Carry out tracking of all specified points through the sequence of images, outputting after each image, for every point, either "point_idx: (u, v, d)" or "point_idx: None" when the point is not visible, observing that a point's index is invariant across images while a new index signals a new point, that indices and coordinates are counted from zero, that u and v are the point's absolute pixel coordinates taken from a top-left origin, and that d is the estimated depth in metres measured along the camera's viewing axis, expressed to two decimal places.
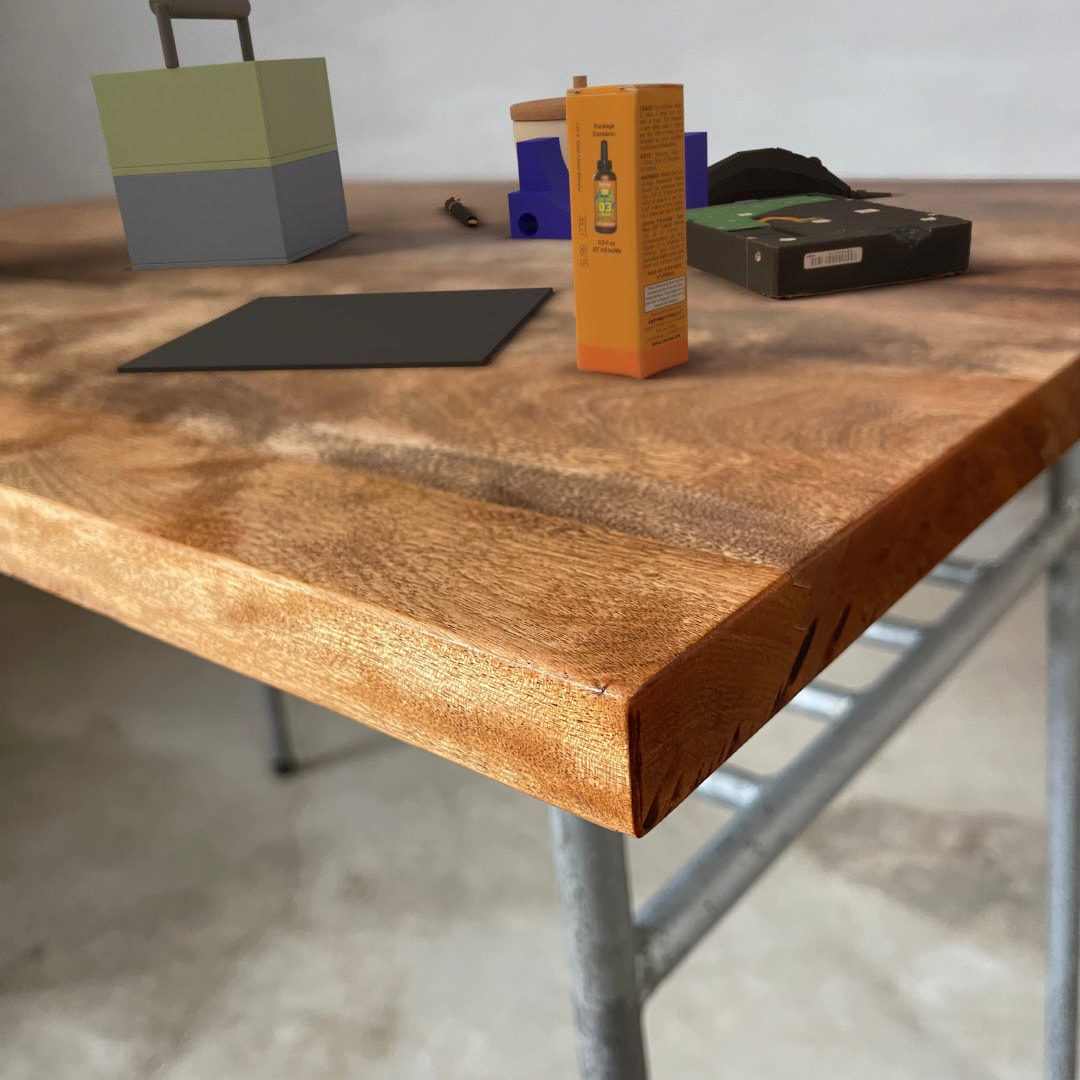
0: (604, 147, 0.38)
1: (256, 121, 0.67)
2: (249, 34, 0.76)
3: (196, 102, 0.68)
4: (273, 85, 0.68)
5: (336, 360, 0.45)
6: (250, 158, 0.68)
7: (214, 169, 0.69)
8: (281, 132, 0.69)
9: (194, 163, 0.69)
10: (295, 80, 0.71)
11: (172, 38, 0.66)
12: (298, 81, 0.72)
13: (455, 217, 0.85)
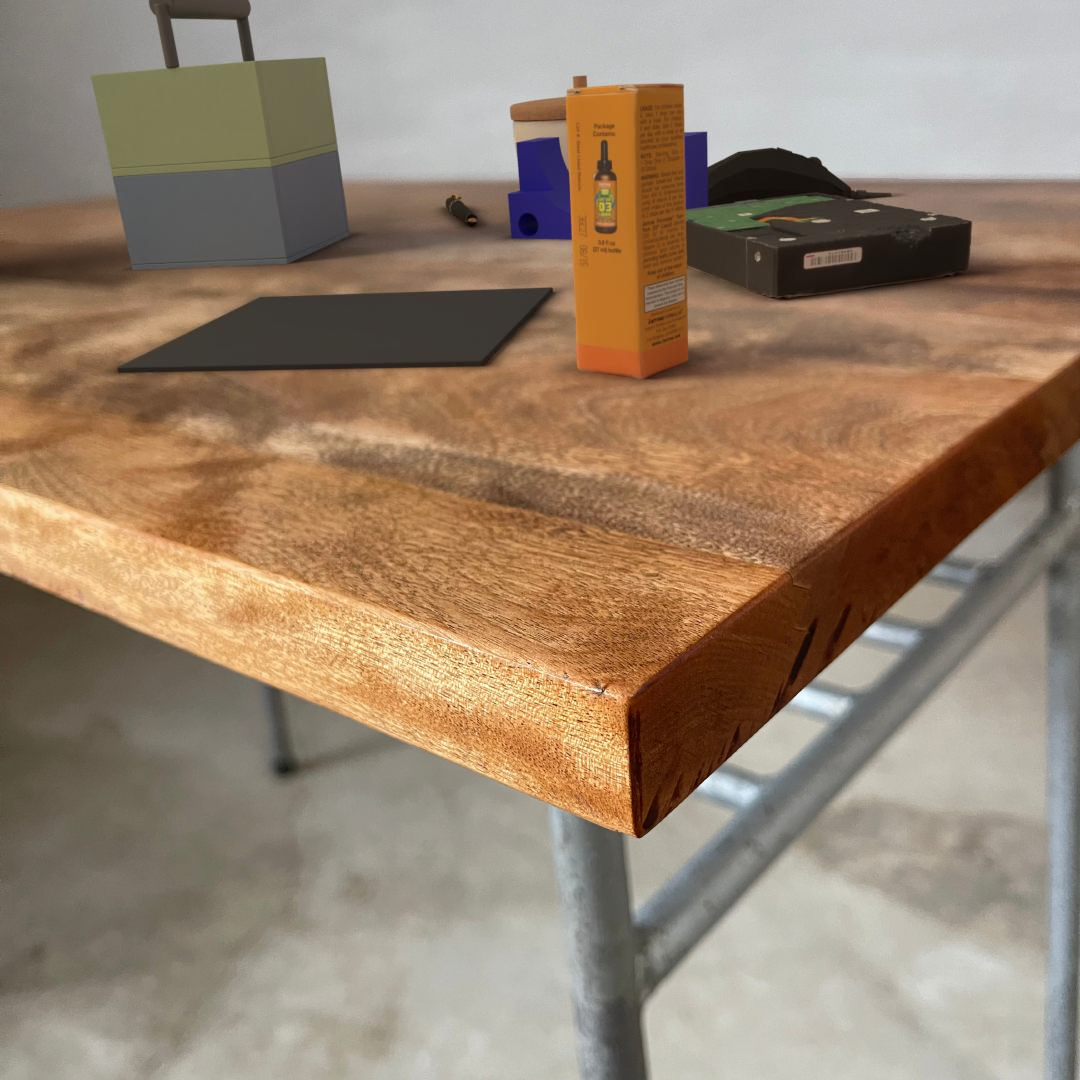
0: (604, 147, 0.38)
1: (256, 121, 0.67)
2: (249, 34, 0.76)
3: (196, 102, 0.68)
4: (273, 85, 0.68)
5: (336, 360, 0.45)
6: (250, 158, 0.68)
7: (214, 169, 0.69)
8: (281, 132, 0.69)
9: (194, 163, 0.69)
10: (295, 80, 0.71)
11: (172, 38, 0.66)
12: (298, 81, 0.72)
13: (455, 215, 0.85)
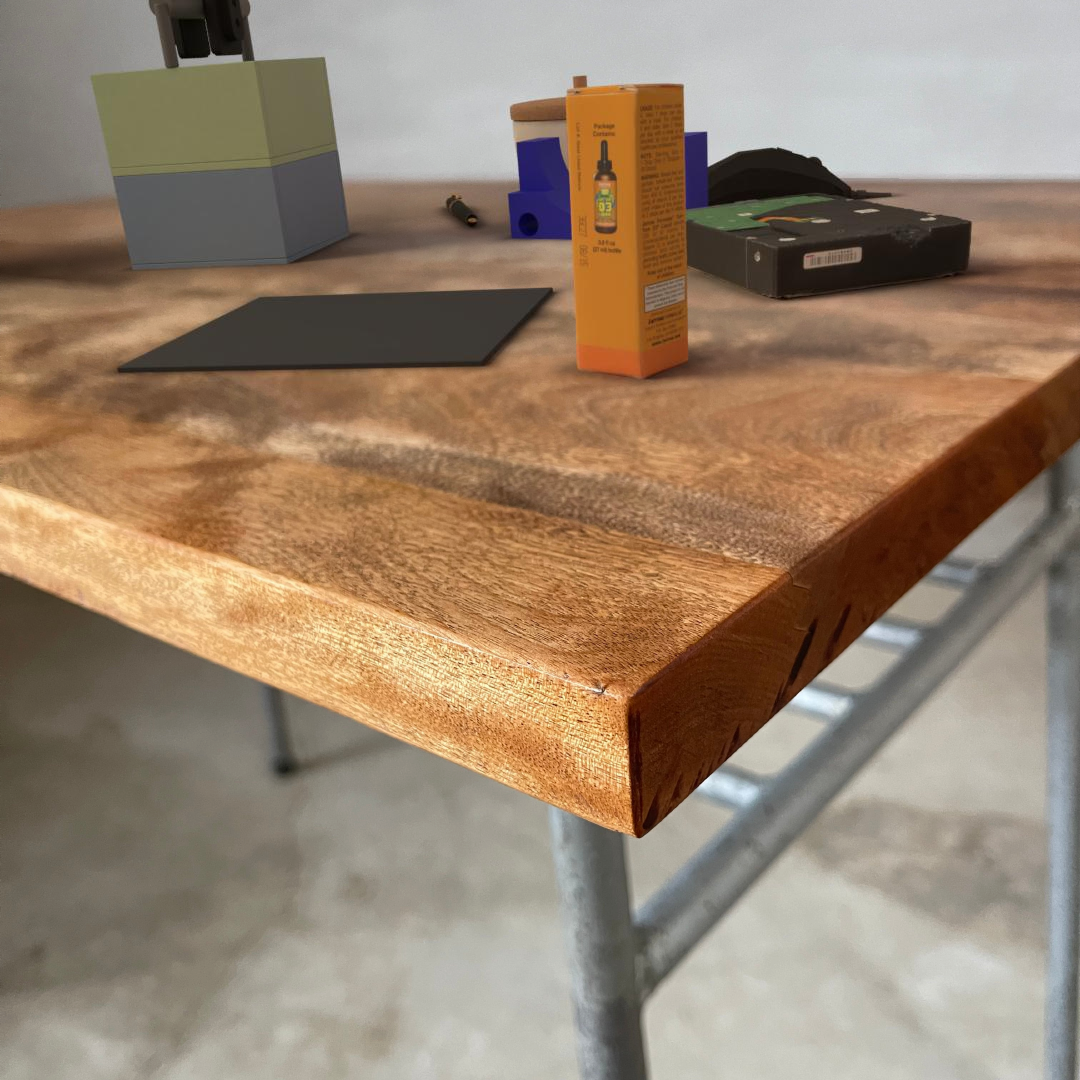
0: (604, 147, 0.38)
1: (255, 121, 0.67)
2: (249, 34, 0.76)
3: (196, 102, 0.68)
4: (273, 85, 0.68)
5: (336, 360, 0.45)
6: (250, 158, 0.68)
7: (214, 169, 0.69)
8: (281, 132, 0.69)
9: (193, 163, 0.69)
10: (295, 80, 0.71)
11: (172, 38, 0.66)
12: (298, 81, 0.72)
13: None
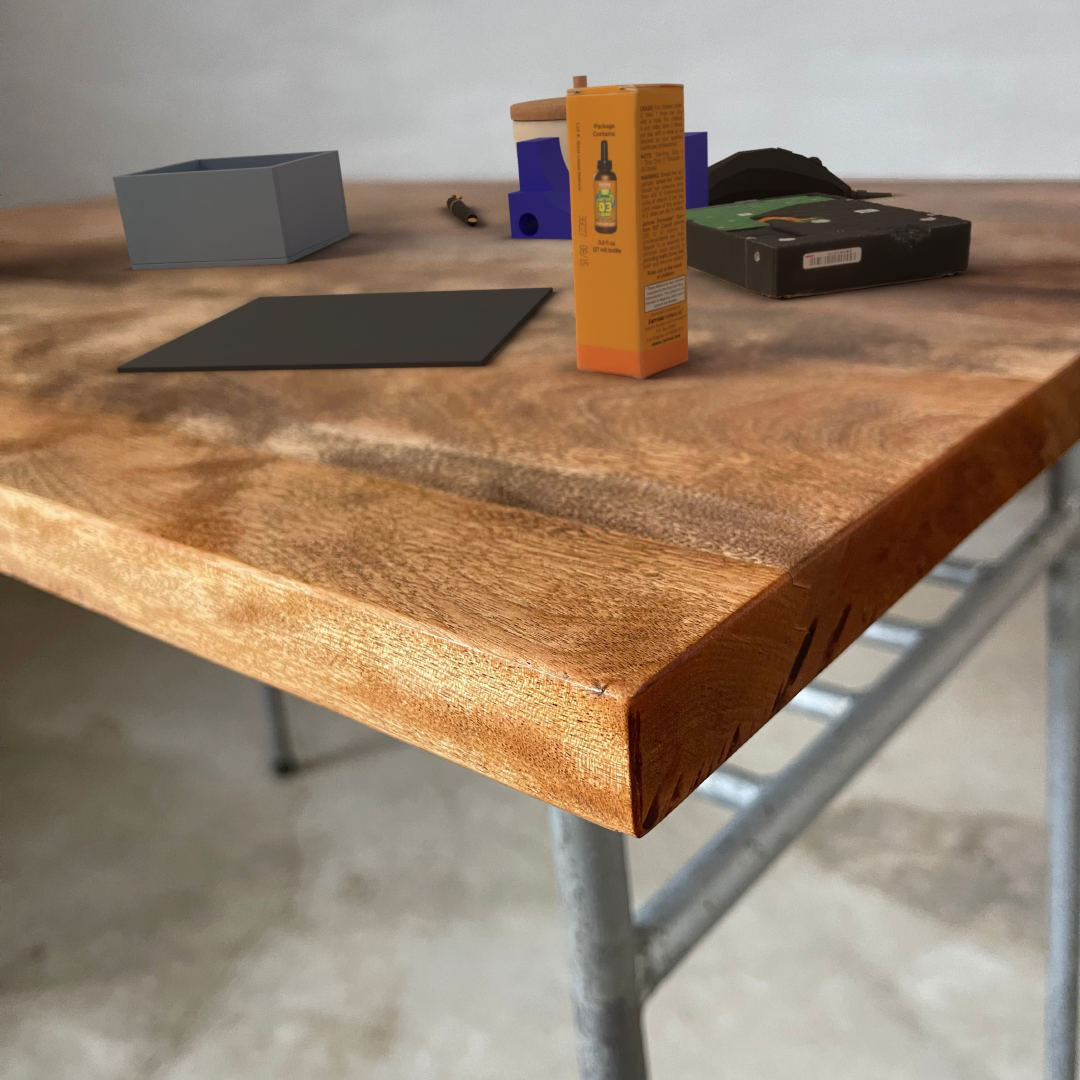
0: (604, 147, 0.38)
1: None
2: None
3: None
4: None
5: (336, 360, 0.45)
6: None
7: None
8: None
9: None
10: None
11: None
12: None
13: (456, 215, 0.85)
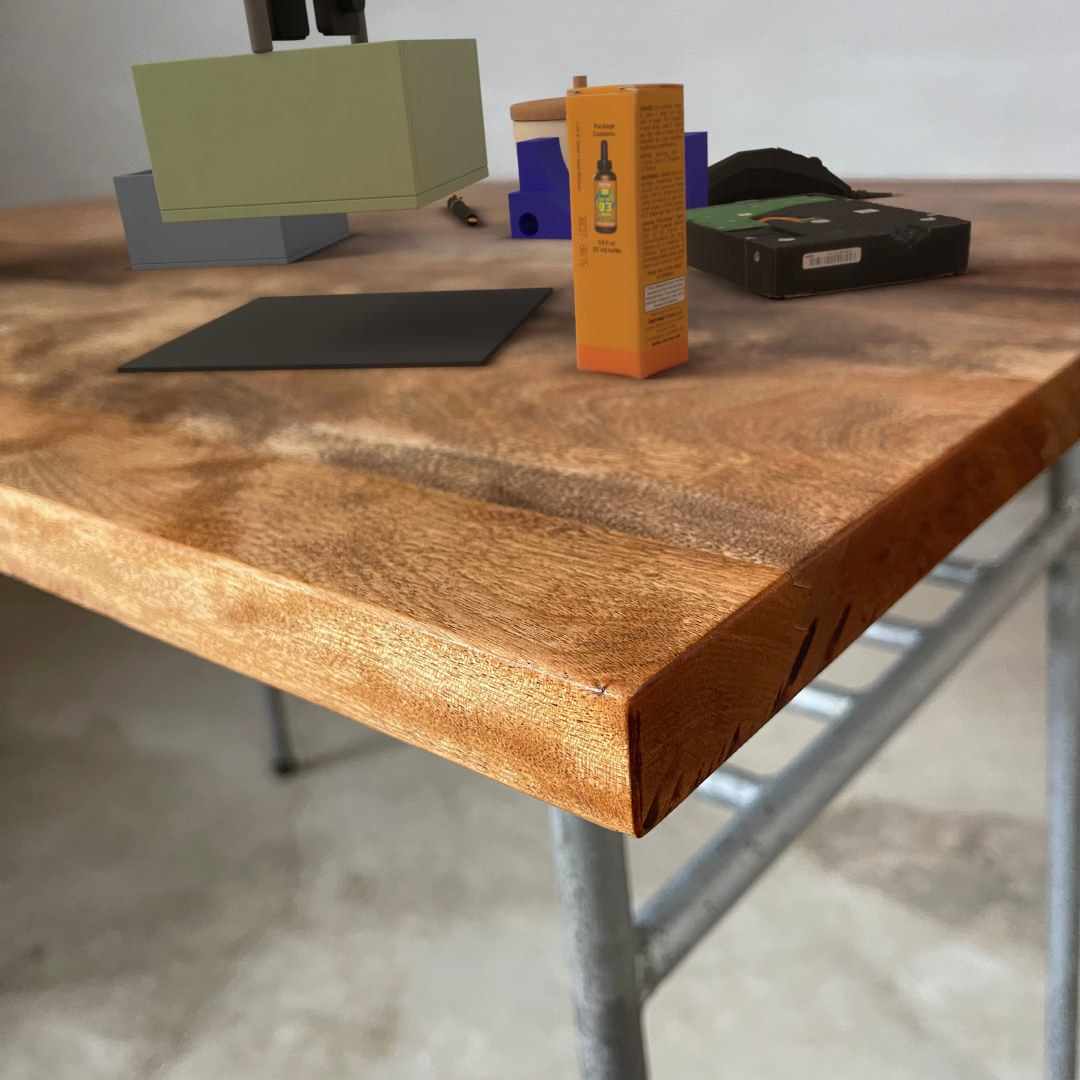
0: (604, 147, 0.38)
1: (395, 137, 0.42)
2: None
3: (300, 107, 0.42)
4: (420, 79, 0.43)
5: (336, 360, 0.45)
6: (383, 195, 0.43)
7: (325, 212, 0.44)
8: (429, 153, 0.44)
9: (293, 202, 0.44)
10: (444, 72, 0.46)
11: (263, 4, 0.41)
12: (448, 74, 0.47)
13: (456, 215, 0.85)
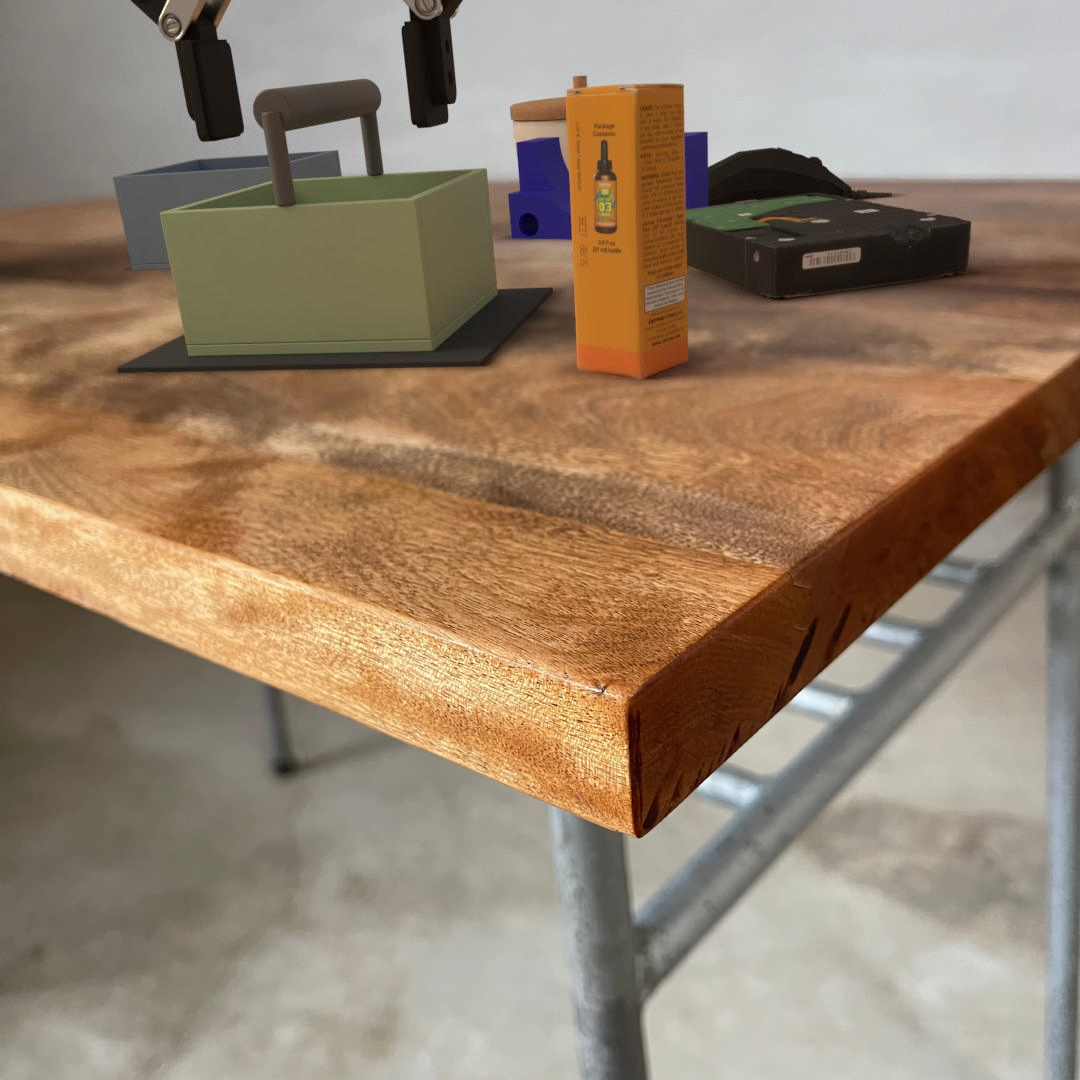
0: (604, 147, 0.38)
1: (412, 286, 0.44)
2: (377, 135, 0.53)
3: (321, 256, 0.45)
4: (435, 228, 0.45)
5: (336, 360, 0.45)
6: (400, 338, 0.45)
7: (344, 351, 0.46)
8: (442, 295, 0.47)
9: (313, 341, 0.46)
10: (457, 212, 0.48)
11: (287, 163, 0.44)
12: (460, 213, 0.49)
13: None
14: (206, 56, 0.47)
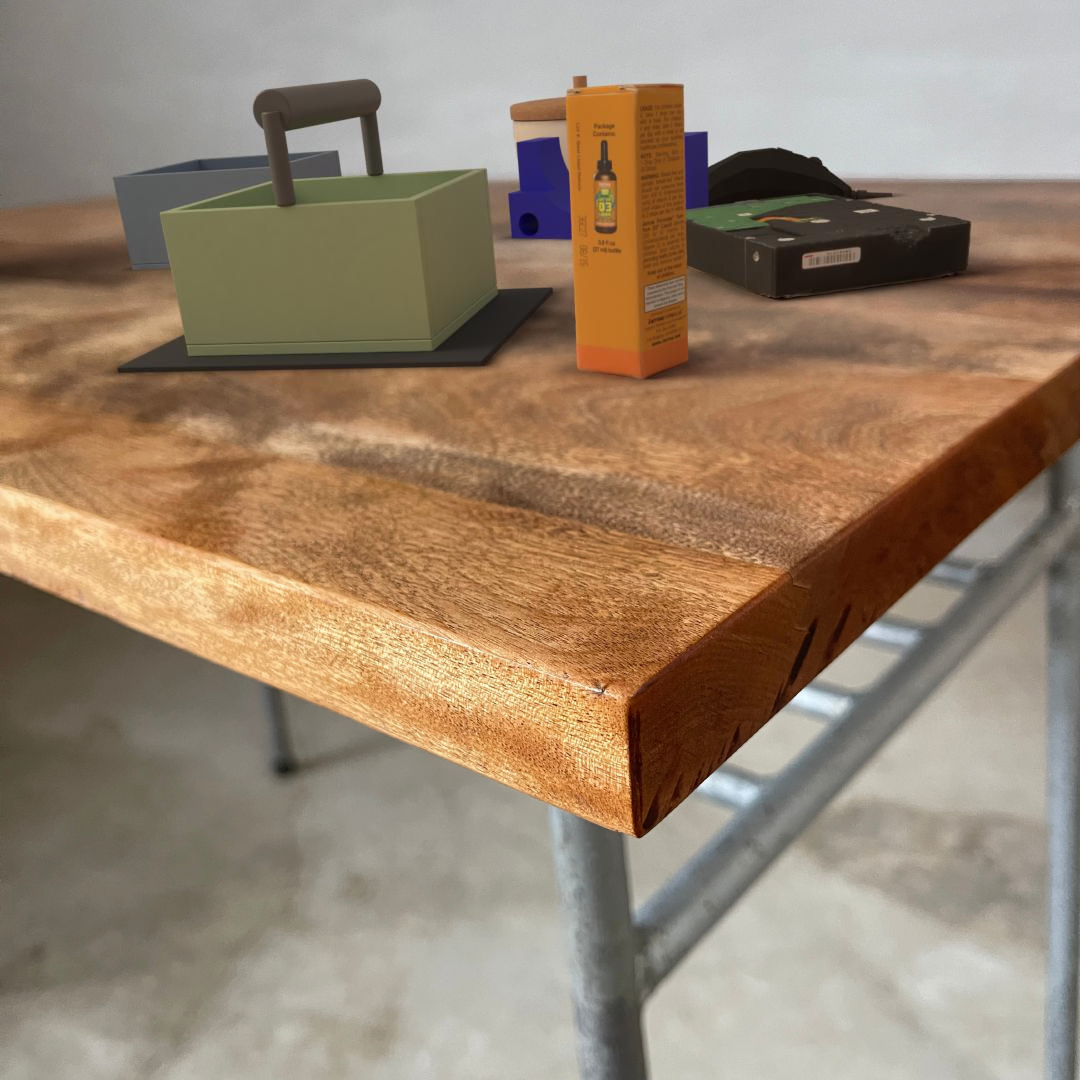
0: (604, 147, 0.38)
1: (412, 286, 0.44)
2: (377, 135, 0.53)
3: (321, 256, 0.45)
4: (435, 228, 0.45)
5: (336, 360, 0.45)
6: (400, 338, 0.45)
7: (344, 351, 0.46)
8: (442, 295, 0.47)
9: (313, 341, 0.46)
10: (457, 212, 0.48)
11: (287, 163, 0.44)
12: (460, 213, 0.49)
13: None
14: None
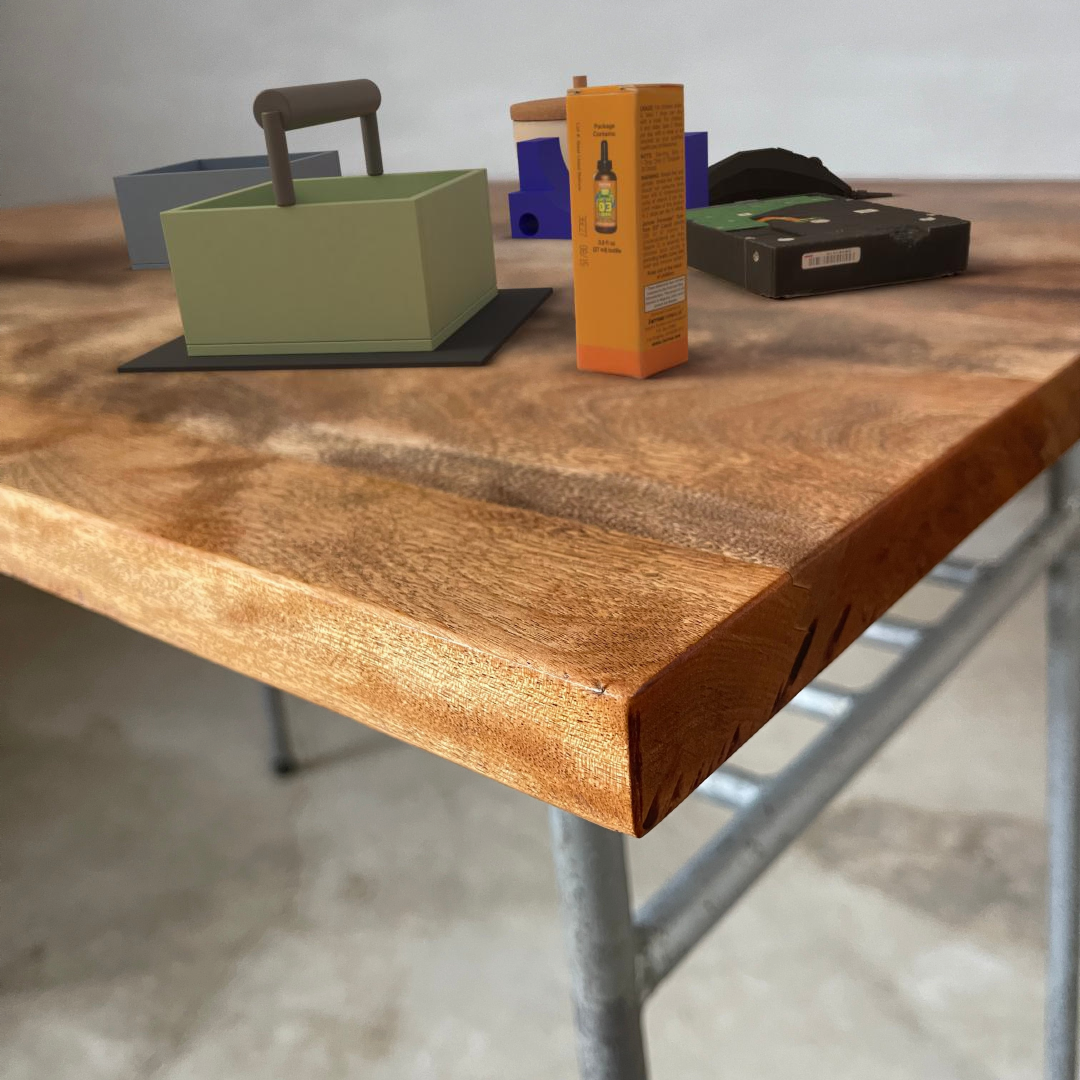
0: (604, 147, 0.38)
1: (412, 286, 0.44)
2: (377, 135, 0.53)
3: (321, 256, 0.45)
4: (435, 228, 0.45)
5: (336, 360, 0.45)
6: (400, 338, 0.45)
7: (344, 351, 0.46)
8: (442, 295, 0.47)
9: (313, 341, 0.46)
10: (457, 212, 0.48)
11: (287, 163, 0.44)
12: (460, 213, 0.49)
13: None
14: None
